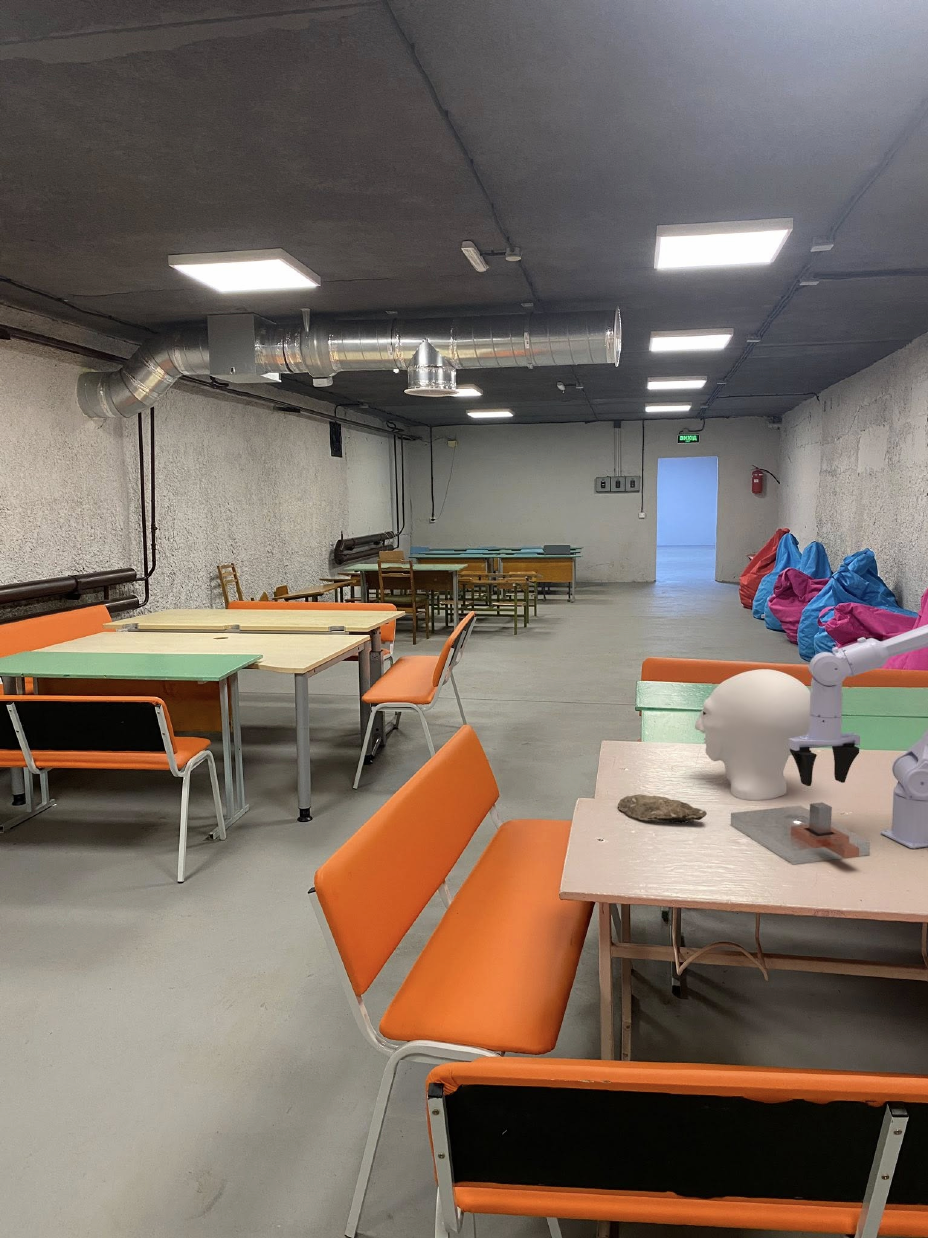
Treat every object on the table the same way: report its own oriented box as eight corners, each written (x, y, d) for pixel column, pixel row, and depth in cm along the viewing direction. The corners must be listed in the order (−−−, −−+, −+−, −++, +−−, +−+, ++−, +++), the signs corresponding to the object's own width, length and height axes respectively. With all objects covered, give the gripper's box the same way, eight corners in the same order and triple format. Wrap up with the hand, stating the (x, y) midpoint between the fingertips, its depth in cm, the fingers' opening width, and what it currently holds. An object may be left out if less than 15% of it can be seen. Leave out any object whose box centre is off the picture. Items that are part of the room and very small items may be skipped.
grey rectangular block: (820, 849, 149) (822, 802, 148) (830, 854, 147) (831, 807, 146) (808, 850, 149) (810, 803, 148) (817, 856, 146) (819, 808, 145)
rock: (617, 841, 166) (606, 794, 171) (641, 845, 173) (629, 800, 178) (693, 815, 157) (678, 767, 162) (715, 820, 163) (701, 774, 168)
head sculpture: (802, 811, 169) (806, 680, 166) (679, 787, 186) (681, 668, 183) (823, 789, 183) (827, 668, 180) (707, 769, 199) (709, 658, 196)
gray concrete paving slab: (799, 817, 166) (800, 798, 165) (890, 866, 141) (891, 844, 141) (730, 825, 162) (731, 805, 161) (811, 876, 138) (811, 853, 137)
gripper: (843, 708, 161) (841, 773, 162) (779, 712, 157) (777, 780, 159) (868, 715, 154) (866, 784, 155) (802, 721, 150) (800, 791, 152)
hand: (823, 783), depth 156 cm, fingers open, 7 cm apart
